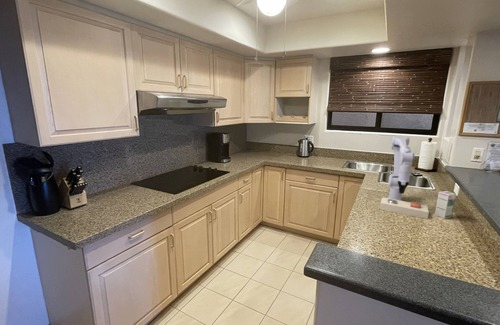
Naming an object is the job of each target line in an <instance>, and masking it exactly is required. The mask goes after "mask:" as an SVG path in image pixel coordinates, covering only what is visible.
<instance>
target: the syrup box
mask: <svg viewBox="0 0 500 325" xmlns="http://www.w3.org/2000/svg"><path fill="white" fill-rule="evenodd" d="M437 196H438V197H437V201H436V206H435V213H434V215H435V216H437V217H440V218H442V219H444V218H445V219H448V218H449V219H451V217H453V213H454V208H455V202H456V199H457V194H456V193H454V192H453V191H448V190H445V191H444V190H443V191H438V195H437Z"/></svg>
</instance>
